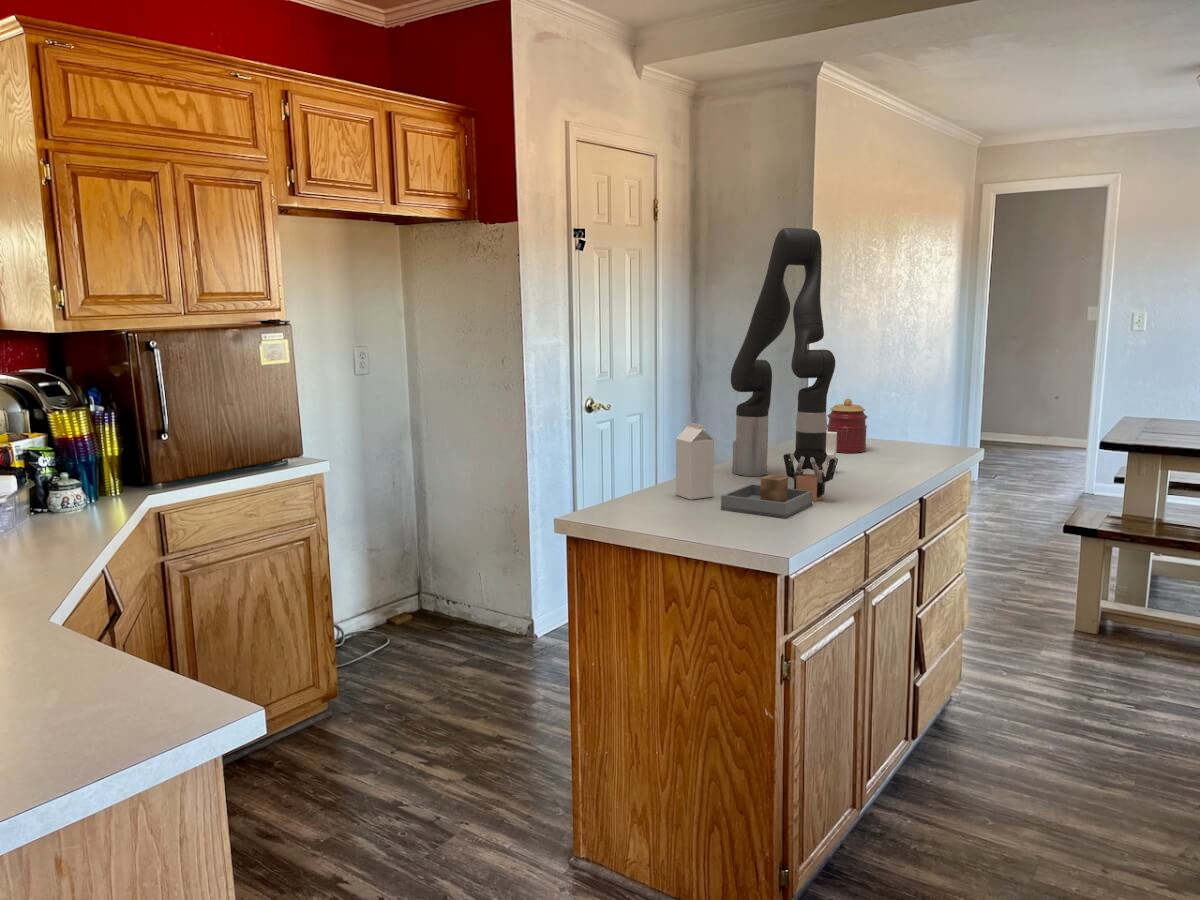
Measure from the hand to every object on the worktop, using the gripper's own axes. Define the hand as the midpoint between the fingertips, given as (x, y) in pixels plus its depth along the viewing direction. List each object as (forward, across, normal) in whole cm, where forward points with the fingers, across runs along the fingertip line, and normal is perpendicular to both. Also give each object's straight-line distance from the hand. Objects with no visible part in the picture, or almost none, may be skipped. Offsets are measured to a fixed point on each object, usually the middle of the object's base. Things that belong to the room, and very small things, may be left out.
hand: (809, 495), depth 224 cm
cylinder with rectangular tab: (+1, -11, +36) cm, 38 cm away
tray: (+1, -5, -14) cm, 15 cm away
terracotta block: (+1, 0, 0) cm, 1 cm away
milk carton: (+1, -26, -13) cm, 29 cm away
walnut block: (0, -5, -11) cm, 12 cm away
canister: (+1, -18, +78) cm, 80 cm away
